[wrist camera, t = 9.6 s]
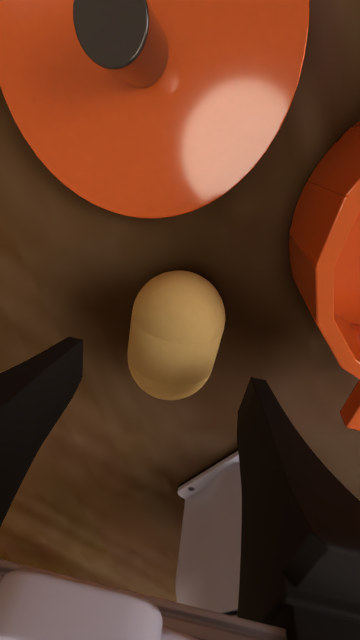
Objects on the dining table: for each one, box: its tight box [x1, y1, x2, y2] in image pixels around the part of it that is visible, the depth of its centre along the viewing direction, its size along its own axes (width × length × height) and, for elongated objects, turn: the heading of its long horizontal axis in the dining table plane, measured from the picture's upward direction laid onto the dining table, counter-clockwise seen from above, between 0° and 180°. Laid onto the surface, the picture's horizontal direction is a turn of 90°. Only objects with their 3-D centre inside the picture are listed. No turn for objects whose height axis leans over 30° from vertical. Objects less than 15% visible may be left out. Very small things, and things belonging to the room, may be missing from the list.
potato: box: [128, 270, 225, 400], centre depth 16 cm, size 7×5×5 cm, turn 170°
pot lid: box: [0, 0, 310, 218], centre depth 11 cm, size 12×12×4 cm
